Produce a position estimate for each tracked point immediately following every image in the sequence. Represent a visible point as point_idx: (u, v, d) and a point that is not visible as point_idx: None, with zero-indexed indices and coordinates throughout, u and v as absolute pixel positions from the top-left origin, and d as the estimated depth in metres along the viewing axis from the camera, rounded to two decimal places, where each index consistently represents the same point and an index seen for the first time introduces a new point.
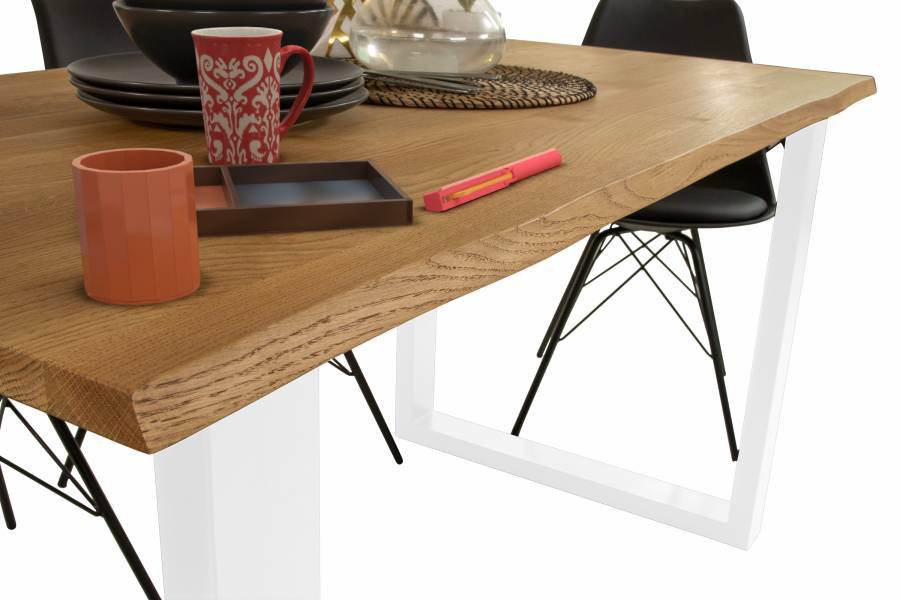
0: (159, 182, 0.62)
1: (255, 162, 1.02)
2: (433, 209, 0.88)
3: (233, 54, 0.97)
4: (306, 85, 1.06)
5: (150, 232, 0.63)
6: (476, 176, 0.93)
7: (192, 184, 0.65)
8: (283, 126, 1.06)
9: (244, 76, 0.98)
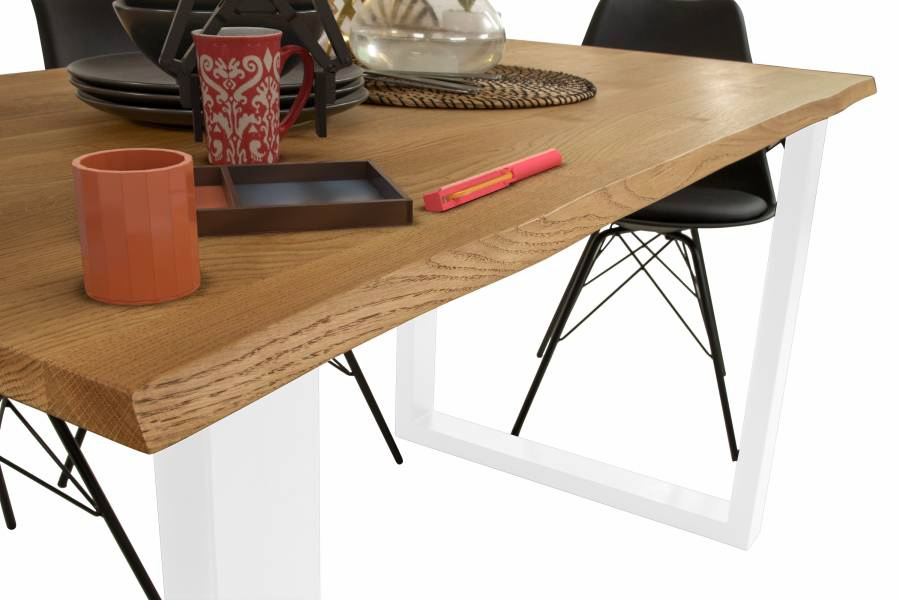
0: (159, 182, 0.62)
1: (255, 162, 1.02)
2: (433, 209, 0.88)
3: (233, 54, 0.98)
4: (306, 85, 1.06)
5: (150, 232, 0.63)
6: (476, 176, 0.93)
7: (192, 184, 0.65)
8: (283, 126, 1.06)
9: (244, 76, 0.99)
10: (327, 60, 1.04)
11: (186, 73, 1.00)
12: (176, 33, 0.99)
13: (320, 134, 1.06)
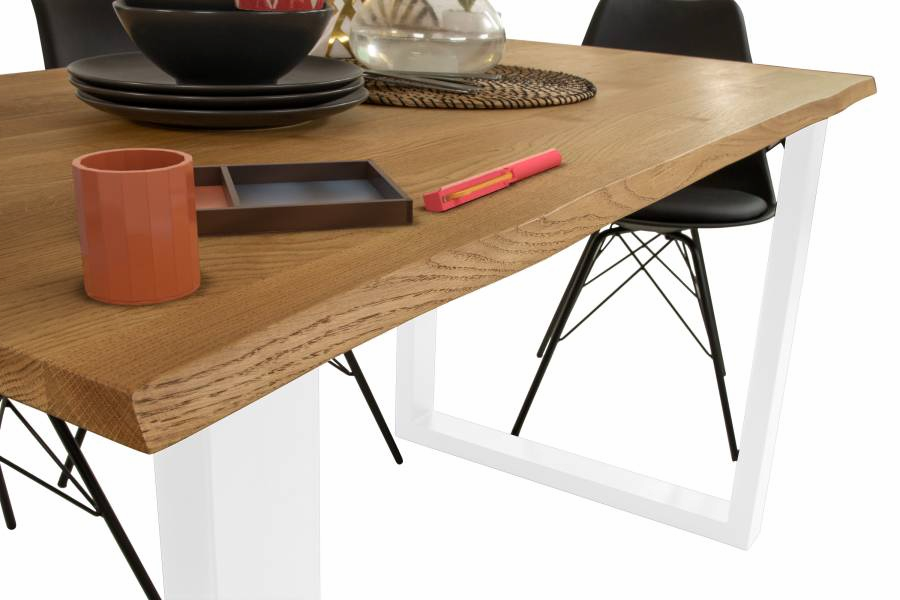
0: (159, 182, 0.62)
1: (295, 1, 0.80)
2: (433, 209, 0.88)
3: None
4: None
5: (150, 232, 0.63)
6: (476, 176, 0.93)
7: (192, 184, 0.65)
8: None
9: None
10: None
11: None
12: None
13: None
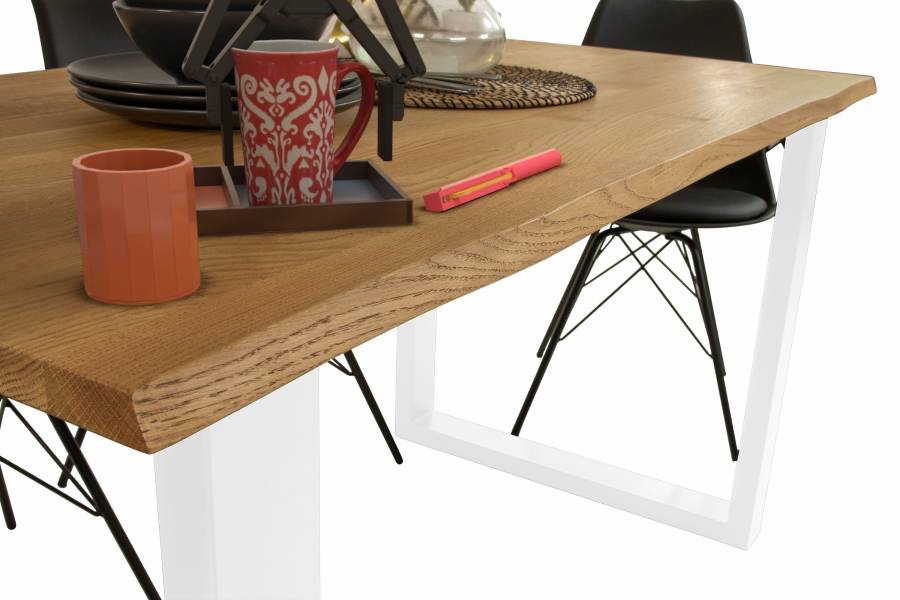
0: (159, 182, 0.62)
1: None
2: (433, 209, 0.88)
3: (282, 74, 0.80)
4: (365, 109, 0.88)
5: (150, 232, 0.63)
6: (476, 176, 0.93)
7: (192, 184, 0.65)
8: (337, 159, 0.88)
9: (294, 101, 0.81)
10: (395, 68, 0.86)
11: (215, 82, 0.82)
12: (207, 34, 0.80)
13: (384, 157, 0.88)
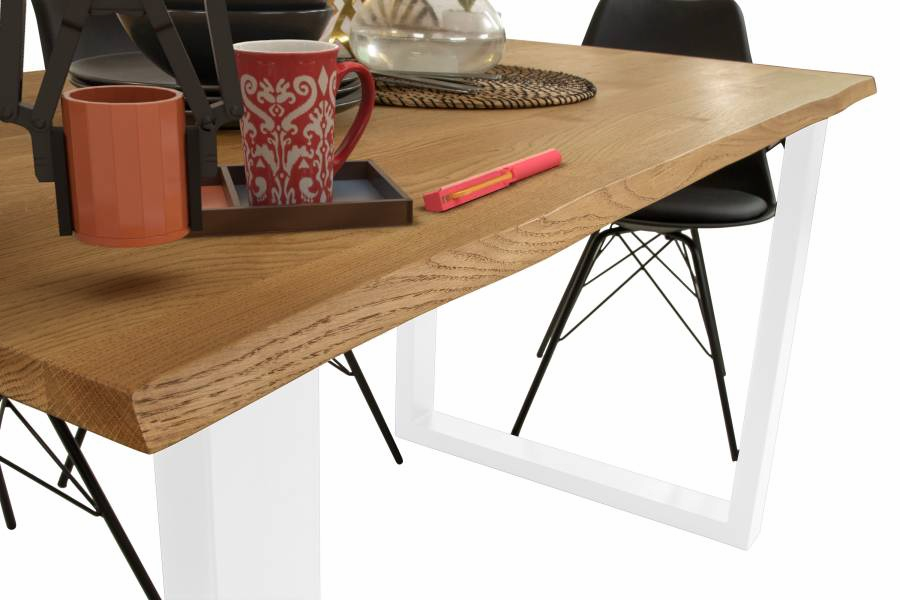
0: (149, 116, 0.61)
1: None
2: (433, 209, 0.88)
3: (282, 74, 0.80)
4: (365, 109, 0.88)
5: (139, 167, 0.62)
6: (476, 176, 0.93)
7: (183, 121, 0.64)
8: (337, 159, 0.88)
9: (294, 101, 0.81)
10: (205, 109, 0.64)
11: (43, 127, 0.62)
12: (8, 59, 0.60)
13: (192, 226, 0.66)
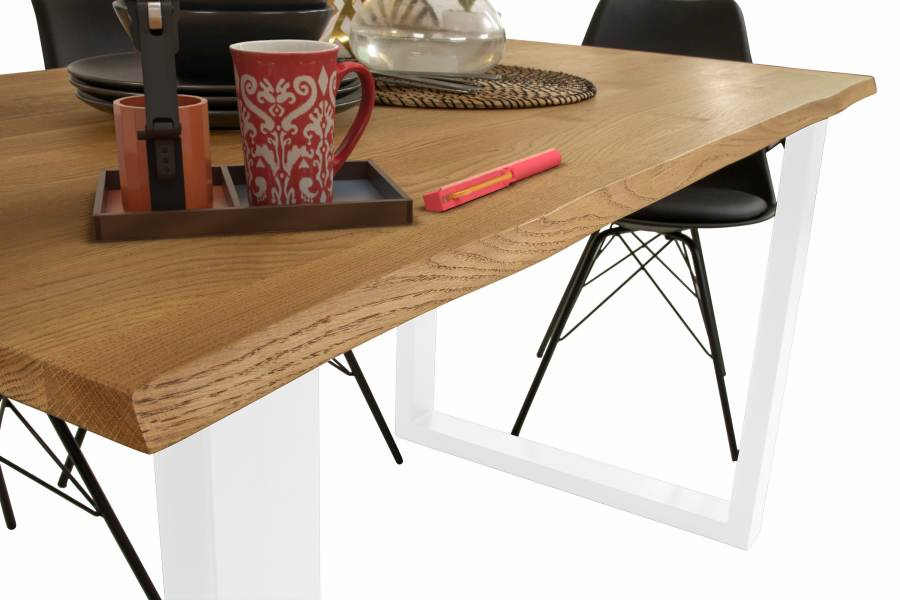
0: None
1: None
2: (433, 209, 0.88)
3: (282, 74, 0.80)
4: (365, 109, 0.88)
5: None
6: (476, 176, 0.93)
7: None
8: (337, 159, 0.88)
9: (294, 101, 0.81)
10: None
11: None
12: None
13: None
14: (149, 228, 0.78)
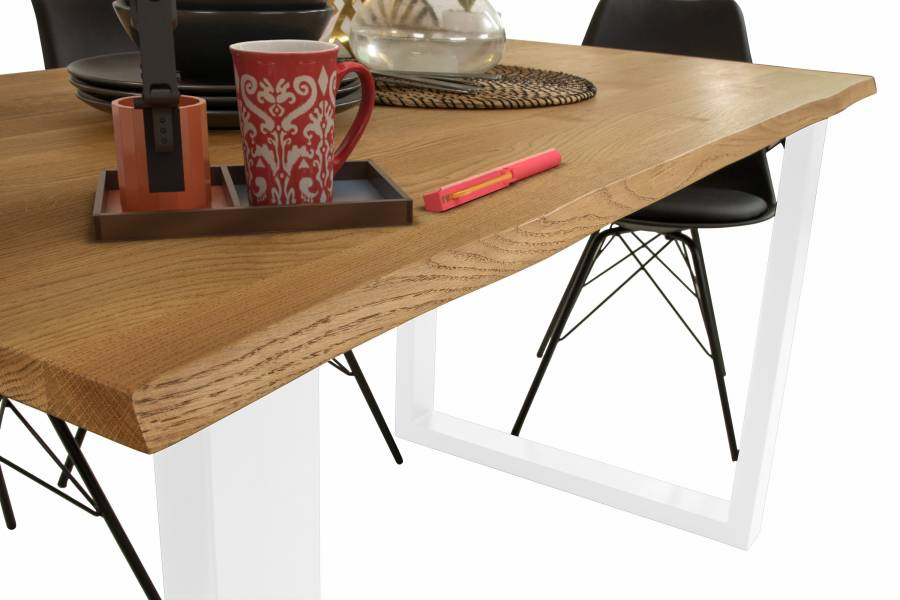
0: None
1: None
2: (433, 209, 0.88)
3: (282, 74, 0.80)
4: (365, 109, 0.88)
5: None
6: (476, 176, 0.93)
7: None
8: (337, 159, 0.88)
9: (294, 101, 0.81)
10: None
11: None
12: None
13: None
14: (149, 228, 0.78)
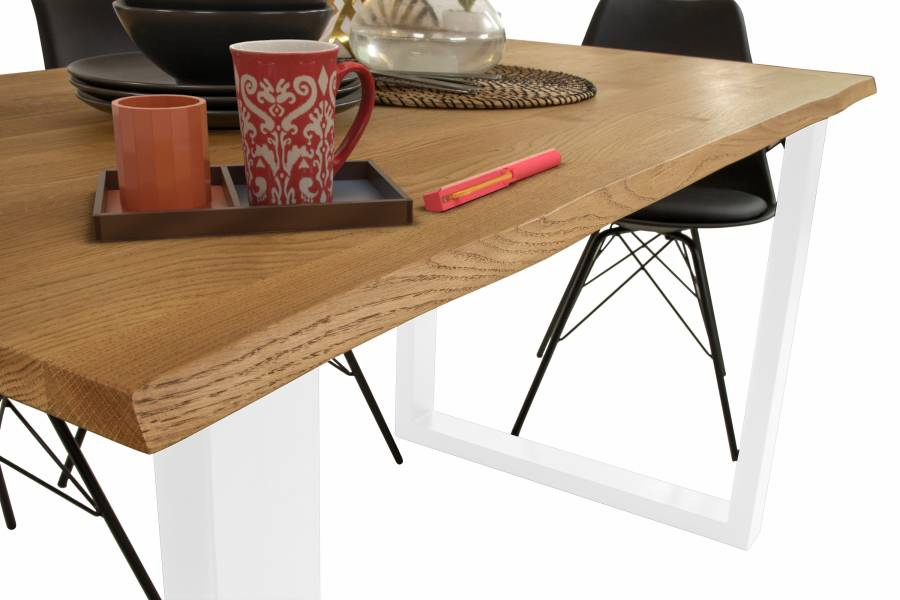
0: None
1: None
2: (433, 209, 0.88)
3: (282, 74, 0.80)
4: (365, 109, 0.88)
5: None
6: (476, 176, 0.93)
7: None
8: (337, 159, 0.88)
9: (294, 101, 0.81)
10: None
11: None
12: None
13: None
14: (149, 228, 0.78)
